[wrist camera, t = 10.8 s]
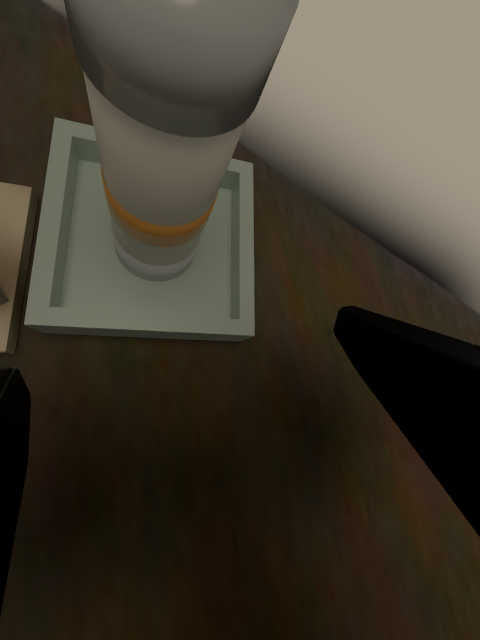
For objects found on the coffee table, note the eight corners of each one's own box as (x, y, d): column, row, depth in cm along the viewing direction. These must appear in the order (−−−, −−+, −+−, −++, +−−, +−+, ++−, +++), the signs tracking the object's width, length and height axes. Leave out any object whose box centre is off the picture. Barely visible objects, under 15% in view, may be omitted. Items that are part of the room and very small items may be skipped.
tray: (240, 341, 17) (254, 335, 15) (42, 333, 14) (23, 324, 12) (240, 188, 19) (253, 163, 17) (66, 153, 16) (55, 117, 14)
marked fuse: (201, 276, 17) (324, 58, 5) (121, 286, 15) (61, 14, 4) (187, 207, 17) (271, -122, 6) (108, 209, 16) (24, -216, 5)
